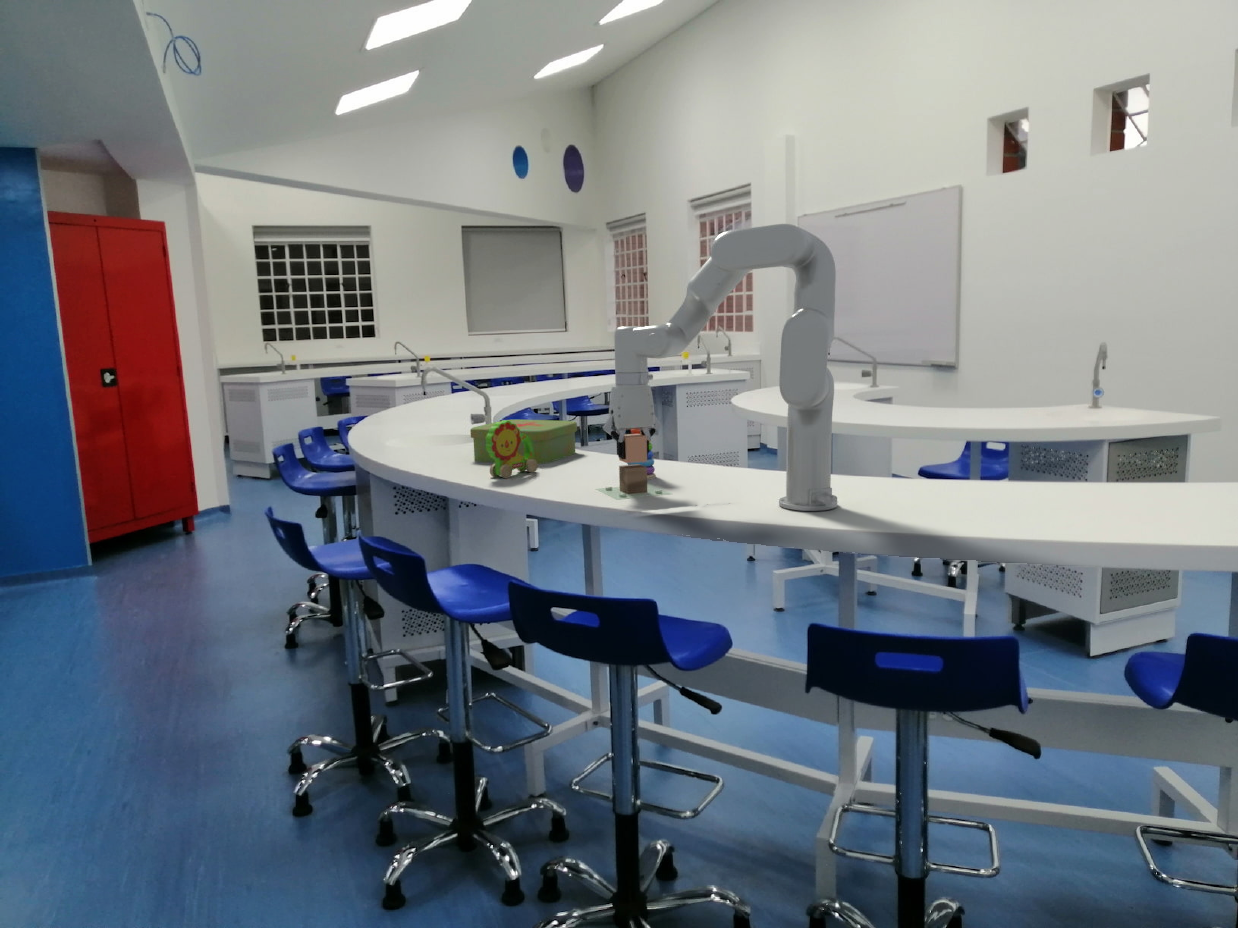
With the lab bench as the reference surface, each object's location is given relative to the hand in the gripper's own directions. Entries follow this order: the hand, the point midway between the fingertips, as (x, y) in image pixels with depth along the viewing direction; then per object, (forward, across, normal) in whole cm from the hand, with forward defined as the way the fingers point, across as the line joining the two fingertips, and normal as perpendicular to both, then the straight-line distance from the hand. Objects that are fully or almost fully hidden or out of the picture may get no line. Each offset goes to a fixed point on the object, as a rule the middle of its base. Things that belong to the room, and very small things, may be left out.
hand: (633, 456), depth 208 cm
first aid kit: (+10, +6, -72) cm, 73 cm away
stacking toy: (+10, -9, -17) cm, 22 cm away
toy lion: (+9, +19, -41) cm, 46 cm away
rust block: (+1, 0, 0) cm, 1 cm away
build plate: (+9, 0, 0) cm, 9 cm away
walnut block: (+8, 0, 0) cm, 8 cm away
